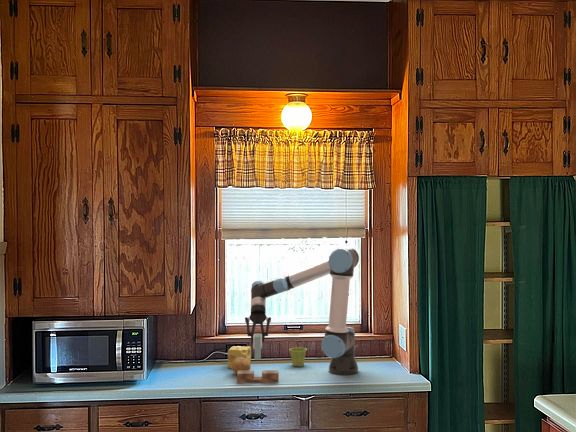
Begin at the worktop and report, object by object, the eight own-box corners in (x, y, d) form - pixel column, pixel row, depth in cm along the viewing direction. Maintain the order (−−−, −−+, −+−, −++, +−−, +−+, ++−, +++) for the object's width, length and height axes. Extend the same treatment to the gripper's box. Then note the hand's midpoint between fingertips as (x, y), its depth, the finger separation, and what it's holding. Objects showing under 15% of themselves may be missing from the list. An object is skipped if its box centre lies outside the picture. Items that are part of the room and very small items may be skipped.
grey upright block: (255, 355, 324) (254, 333, 324) (260, 355, 325) (260, 333, 324) (254, 359, 316) (254, 336, 316) (260, 359, 317) (260, 336, 316)
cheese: (246, 369, 346) (246, 350, 346) (226, 368, 348) (226, 349, 348) (251, 364, 356) (251, 346, 356) (232, 363, 358) (232, 345, 358)
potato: (233, 378, 327) (233, 362, 327) (230, 371, 341) (230, 356, 341) (252, 377, 329) (252, 361, 329) (249, 370, 342) (249, 355, 342)
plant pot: (286, 364, 356) (286, 348, 356) (302, 362, 360) (302, 346, 360) (293, 368, 347) (293, 351, 347) (309, 366, 351) (309, 350, 351)
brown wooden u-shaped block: (278, 379, 324) (278, 370, 324) (278, 382, 318) (278, 373, 318) (237, 379, 324) (237, 370, 324) (237, 382, 318) (237, 373, 318)
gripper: (273, 312, 338) (274, 351, 322) (242, 312, 338) (241, 351, 321) (273, 303, 333) (274, 342, 316) (242, 303, 332) (240, 343, 316)
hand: (257, 347), depth 319 cm, fingers closed on grey upright block, 3 cm apart
